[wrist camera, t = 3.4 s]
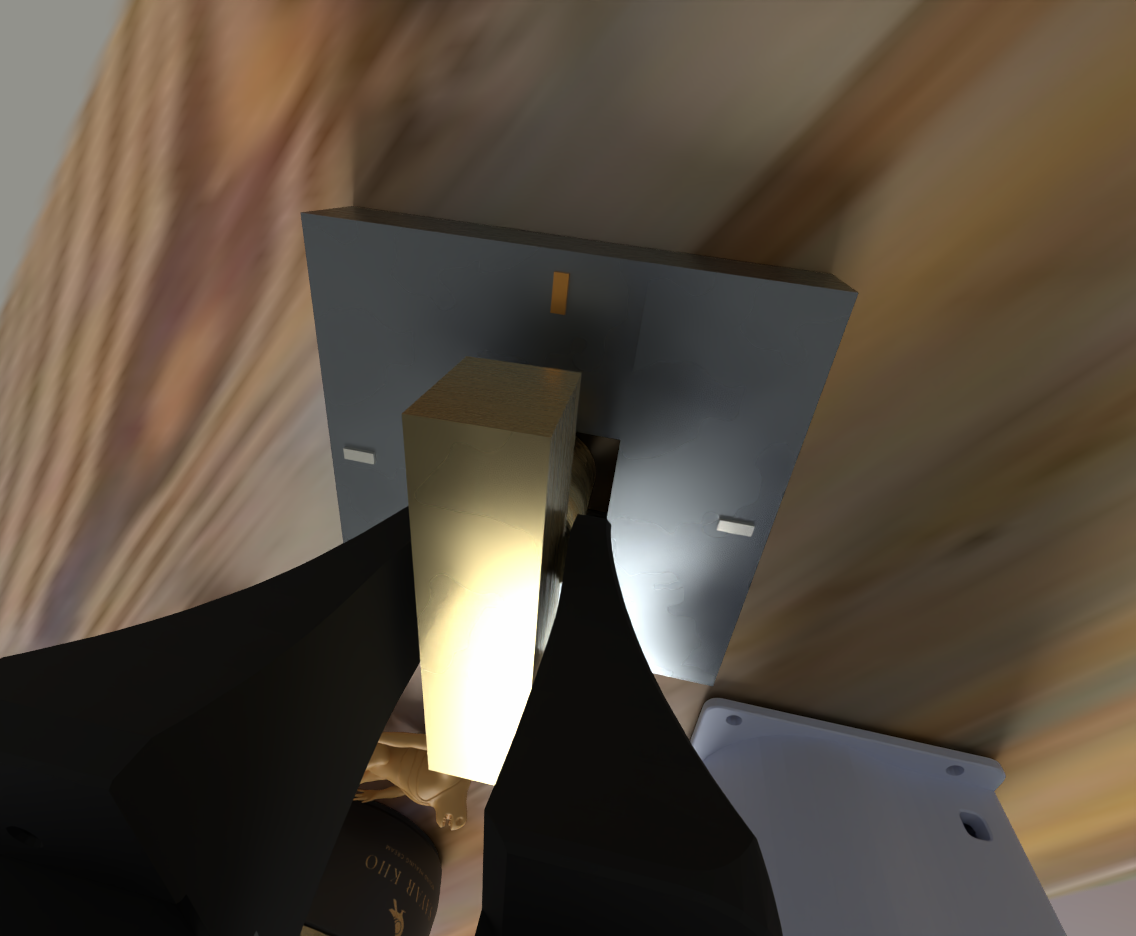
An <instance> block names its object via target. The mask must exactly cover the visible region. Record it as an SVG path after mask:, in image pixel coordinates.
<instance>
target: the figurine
mask: <svg viewBox="0 0 1136 936" xmlns="http://www.w3.org/2000/svg"><path fill="white" fill-rule="evenodd" d="M385 779H387V780H389V781H391V782H392V783H393V784H395V785H396V786H392V787H389V788H386V789H383V790H361V789H358V790H357V791H360V792H363V793H359V794H355V796H356V797H358V798H354V799H353V800H364V801H362V803H364V802H369V801H372V800H374V799H381V798H395V797H400V796H403V795H407V796H408V797H409V798H410V799H411V800H413V801H414V802H415V803H417V804H421V805H425V806H432V807H434V808H435V811H436V822H437V823H438V825H439V826H440V827H442V826H445V823H446V820H445V819H449V820H450V821H449V823H448V825H449V826H450V829H451V830H456V829H459V828H461V827H462V826H463V825H464V824H465V823H466V820H467V806H466V798H467V791H468V789H469V786H470V783H471V780H470V779H466V778H461V777H457V776H453V775H449V774H445V773H440V772H436V771H432V770H429V767H428V754H427V741H426V734H416V733H407V732H382V734H381V737H380V739H379V741H378V743H377V746H376V748H375V750H374V752H373V755H372V757H371V759H370V761H369V764H368V766H367V768H366V770H365V773H364V775H363V778H362V780H361V782H360V784H362V783H364V782H371V781H376V780H385Z"/></svg>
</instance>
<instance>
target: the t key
mask: <svg viewBox="0 0 1136 936" xmlns="http://www.w3.org/2000/svg"><path fill="white" fill-rule="evenodd" d="M581 376H582V373H581V372H574V371H567V370H560V369H553V368H546V367H539V366H532V365H525V364H519V363H512V362H505V361H498V360H491V359H484V358H477V357H470V356H466V357H465V358H464V359H463V360H462V361H460V362H459V363H458V364H457V365H456V366H455V367H454V368H453V369H451V370H450V371H449V372H448V373H447V374H446V375H445V376H444V377H442V378H441V379H440V380H439V381H438V382H437V383H436V384H434V385H433V386H432V387H431V388H430V389H429V390H428V391H427V392H425V393H424V394H423V395H422V396H421V397H420V398H419V399H418V400H416V401H415V402H414V403H413V404H412V405H411V406H410V407H409V408H407V409H406V410H405V411H404V412H403V413H402V426H403V439H404V452H405V465H406V478H407V491H408V505H409V518H410V531H411V544H412V557H413V570H414V583H415V596H416V609H417V623H418V636H419V649H420V662H421V675H422V688H423V701H424V714H425V727H426V741H427V754H428V767H429V770H432V771H436V772H440V773H445V774H449V775H453V776H457V777H461V778H466V779H470V780H474V781H478V782H483V783H487V784H491V785H495V783H496V780H497V778H498V775H499V773H500V770H501V768H502V765H503V763H504V760H505V758H506V755H507V753H508V750H509V748H510V745H511V742H512V740H513V737H514V735H515V732H516V729H517V727H518V724H519V721H520V719H521V716H522V713H523V710H524V708H525V705H526V702H527V699H528V697H529V694H530V691H531V689H532V686H533V683H534V680H535V677H536V674H537V671H538V668H539V665H540V662H541V659H542V656H543V653H544V650H545V647H546V644H547V641H548V638H549V635H550V632H551V629H552V626H553V623H554V620H555V616H556V612H557V608H558V600H559V591H560V584H561V583H562V579H563V573H564V567H565V560H566V554H567V548H568V541H569V535H570V531H571V528H572V526H573V523H574V521H575V518H576V516H577V514H581V515H586V511H587V507H588V504H589V500H590V496H591V493H592V489H593V485H594V482H595V477H596V467H595V462H594V459H593V456H592V454H591V452H590V451H589V449H588V448H587V446H586V445H585V444H584V443H583V442H582V441H581V440H580V439H579V438H577V437H576V436H575V435H576V425H577V415H578V405H579V396H580V386H581Z"/></svg>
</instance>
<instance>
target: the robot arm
mask: <svg viewBox="0 0 1136 936" xmlns="http://www.w3.org/2000/svg"><path fill="white" fill-rule="evenodd" d="M611 526H612V525H611V523H610V522H609V521H608V520H607V519H603V518H598V517H592V516H587V515H581V514H577V516H576V518H575V521H574V523H573V526H572V528H571V531H570V535H569V541H568V548H567V554H566V560H565V567H564V573H563V579H562V586H561V592H560V599H559V603H558V608H557V612H556V616H555V620H554V623H553V626H552V629H551V632H550V635H549V638H548V641H547V644H546V647H545V650H544V653H543V656H542V659H541V662H540V665H539V668H538V671H537V674H536V677H535V680H534V683H533V686H532V689H531V691H530V694H529V697H528V699H527V702H526V705H525V708H524V710H523V713H522V716H521V719H520V721H519V724H518V727H517V729H516V732H515V735H514V737H513V740H512V742H511V745H510V748H509V750H508V753H507V755H506V758H505V760H504V763H503V765H502V768H501V770H500V773H499V775H498V778H497V780H496V783H495V785H494V788H493V790H492V793H491V795H490V798H489V800H488V802H487V805H486V807H485V810H484V850H483V891H482V911H481V915H480V918H479V922H478V926H477V930H476V933H475V936H1067V935H1066V933H1065V931H1064V929H1063V927H1062V925H1061V923H1060V921H1059V919H1058V917H1057V915H1056V913H1055V911H1054V910H1053V907H1052V906H1051V903H1050V901H1049V899H1048V897H1047V895H1046V893H1045V891H1044V889H1043V887H1042V885H1041V883H1040V881H1039V879H1038V877H1037V876H1036V874H1035V872H1034V870H1033V868H1032V866H1031V864H1030V862H1029V860H1028V858H1027V856H1026V854H1025V852H1024V850H1023V848H1022V846H1021V844H1020V842H1019V840H1018V838H1017V836H1016V834H1015V832H1014V830H1013V828H1012V826H1011V824H1010V822H1009V820H1008V818H1007V816H1006V814H1005V812H1004V810H1003V808H1002V806H1001V804H1000V802H999V800H998V798H997V796H996V794H995V792H994V791H995V790H996V789H997V788H998V787H999V786H1000V784H1001V783H1002V782H1003V781H1004V779H1005V777H1006V775H1005V772H1004V770H1003V768H1002V767H1001V765H1000V763H999V762H997V761H996V760H993V759H991V758H987V757H983V756H978V755H974V754H969V753H965V752H960V751H956V750H951V749H947V748H942V747H938V746H933V745H929V744H924V743H920V742H916V741H911V740H907V739H902V738H898V737H893V736H889V735H884V734H880V733H875V732H871V731H866V730H862V729H857V728H853V727H848V726H844V725H839V724H835V723H831V722H826V721H822V720H817V719H813V718H808V717H804V716H799V715H795V714H790V713H786V712H781V711H777V710H772V709H768V708H763V707H759V706H754V705H750V704H746V703H741V702H737V701H732V700H728V699H723V698H711V699H709V700H707V701H706V702H705V703H704V705H703V708H702V710H701V713H700V716H699V718H698V721H697V724H696V727H695V729H694V732H693V735H692V738H691V740H690V741H689V739H688V737H687V736H686V734H685V732H684V730H683V729H682V727H681V725H680V723H679V722H678V720H677V718H676V716H675V715H674V713H673V711H672V709H671V708H670V706H669V704H668V702H667V701H666V699H665V697H664V695H663V693H662V691H661V689H660V687H659V685H658V683H657V681H656V679H655V677H654V675H653V673H652V671H651V669H650V666H649V664H648V662H647V660H646V658H645V655H644V653H643V651H642V648H641V646H640V644H639V641H638V639H637V636H636V633H635V631H634V628H633V625H632V623H631V620H630V617H629V614H628V611H627V608H626V605H625V602H624V598H623V595H622V591H621V588H620V584H619V580H618V576H617V572H616V568H615V563H614V557H613V551H612V543H611ZM419 663H420V649H419V636H418V623H417V609H416V596H415V583H414V570H413V557H412V544H411V531H410V518H409V505H408V506H407V507H405V508H403V509H402V510H400V511H399V512H397V513H395V514H394V515H392V516H390V517H389V518H387V519H385V520H384V521H382V522H380V523H378V524H377V525H375V526H373V527H372V528H370V529H368V530H367V531H365V532H363V533H361V534H360V535H358V536H356V537H354V538H352V539H350V540H348V541H347V542H345V543H343V544H341V545H339V546H337V547H335V548H333V549H332V550H330V551H328V552H326V553H324V554H322V555H320V556H318V557H316V558H314V559H312V560H310V561H308V562H306V563H304V564H302V565H300V566H298V567H296V568H293V569H291V570H289V571H287V572H285V573H282V574H280V575H278V576H275V577H273V578H271V579H268V580H266V581H264V582H261V583H259V584H256V585H254V586H251V587H249V588H246V589H244V590H241V591H238V592H235V593H233V594H230V595H227V596H224V597H221V598H219V599H216V600H213V601H210V602H208V603H205V604H202V605H199V606H197V607H194V608H191V609H188V610H185V611H182V612H179V613H175V614H172V615H169V616H166V617H162V618H159V619H156V620H153V621H149V622H146V623H142V624H139V625H135V626H132V627H128V628H124V629H121V630H117V631H114V632H110V633H106V634H102V635H98V636H95V637H90V638H86V639H82V640H77V641H73V642H69V643H65V644H60V645H56V646H52V647H47V648H43V649H39V650H35V651H30V652H26V653H22V654H17V655H12V656H7V657H3V658H1V659H0V936H300V933H301V931H302V928H303V925H304V923H305V920H306V917H307V915H308V912H309V909H310V907H311V904H312V901H313V899H314V896H315V893H316V891H317V888H318V885H319V883H320V880H321V878H322V875H323V873H324V870H325V868H326V865H327V863H328V860H329V858H330V855H331V853H332V850H333V848H334V845H335V843H336V840H337V838H338V835H339V833H340V830H341V828H342V825H343V823H344V820H345V818H346V816H347V813H348V811H349V808H350V806H351V804H352V801H353V799H354V797H355V794H356V792H357V789H358V787H359V785H360V782H361V780H362V778H363V775H364V773H365V770H366V768H367V766H368V764H369V761H370V759H371V757H372V755H373V752H374V750H375V748H376V746H377V743H378V741H379V739H380V737H381V734H382V732H383V730H384V728H385V725H386V723H387V721H388V719H389V717H390V715H391V713H392V711H393V709H394V707H395V705H396V704H397V702H398V700H399V698H400V696H401V694H402V693H403V691H404V689H405V687H406V686H407V684H408V682H409V680H410V679H411V677H412V675H413V673H414V672H415V670H416V668H417V666H418V664H419Z"/></svg>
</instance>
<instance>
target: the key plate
mask: <svg viewBox="0 0 1136 936" xmlns="http://www.w3.org/2000/svg"><path fill="white" fill-rule="evenodd" d="M301 220H302V227H303V235H304V243H305V250H306V258H307V266H308V273H309V281H310V289H311V297H312V304H313V312H314V320H315V327H316V335H317V343H318V350H319V358H320V366H321V374H322V381H323V389H324V397H325V404H326V412H327V420H328V428H329V435H330V443H331V451H332V458H333V466H334V474H335V481H336V489H337V497H338V505H339V512H340V520H341V528H342V535H343V543H345V542H347V541H348V540H350V539H352V538H354V537H356V536H358V535H360V534H361V533H363V532H365V531H367V530H368V529H370V528H372V527H373V526H375V525H377V524H378V523H380V522H382V521H384V520H385V519H387V518H389V517H390V516H392V515H394V514H395V513H397V512H399V511H400V510H402V509H403V508H405V507H407V506H408V491H407V478H406V465H405V452H404V439H403V426H402V413H403V412H404V411H405V410H406V409H407V408H409V407H410V406H411V405H412V404H413V403H414V402H415V401H416V400H418V399H419V398H420V397H421V396H422V395H423V394H424V393H425V392H427V391H428V390H429V389H430V388H431V387H432V386H433V385H434V384H436V383H437V382H438V381H439V380H440V379H441V378H442V377H444V376H445V375H446V374H447V373H448V372H449V371H450V370H451V369H453V368H454V367H455V366H456V365H457V364H458V363H459V362H460V361H462V360H463V359H464V358H465V357H466V356H470V357H477V358H484V359H491V360H498V361H505V362H512V363H519V364H525V365H532V366H539V367H546V368H553V369H560V370H567V371H574V372H581V373H582V376H581V386H580V396H579V405H578V415H577V425H576V432H580V433H585V434H591V435H596V436H602V437H608V438H613V439H619V440H621V441H620V447H619V453H618V458H617V464H616V469H615V475H614V481H613V486H612V492H611V498H610V503H609V509H608V513H603V512H598V511H593V510H587V511H586V515H587V516H592V517H598V518H603V519H607V520H608V521H609V522H610V523H611V525H612V526H611V543H612V551H613V557H614V563H615V568H616V572H617V576H618V580H619V584H620V588H621V591H622V595H623V598H624V602H625V605H626V608H627V611H628V614H629V617H630V620H631V623H632V625H633V628H634V631H635V633H636V636H637V639H638V641H639V644H640V646H641V648H642V651H643V653H644V655H645V658H646V660H647V662H648V664H649V666H650V669H651V671H652V673H655V674H660V675H664V676H669V677H673V678H678V679H682V680H687V681H691V682H696V683H700V684H705V685H709V686H713V684H714V682H715V679H716V676H717V674H718V671H719V668H720V666H721V663H722V660H723V657H724V655H725V652H726V649H727V647H728V644H729V641H730V639H731V636H732V633H733V630H734V628H735V625H736V622H737V620H738V617H739V614H740V611H741V609H742V606H743V603H744V601H745V598H746V595H747V593H748V590H749V587H750V584H751V582H752V579H753V576H754V574H755V571H756V568H757V566H758V563H759V560H760V557H761V555H762V552H763V549H764V547H765V544H766V541H767V539H768V536H769V533H770V530H771V528H772V525H773V522H774V520H775V517H776V514H777V512H778V509H779V506H780V503H781V501H782V498H783V495H784V493H785V490H786V487H787V485H788V482H789V479H790V476H791V474H792V471H793V468H794V466H795V463H796V460H797V458H798V455H799V452H800V449H801V447H802V444H803V441H804V439H805V436H806V433H807V431H808V428H809V425H810V422H811V420H812V417H813V414H814V412H815V409H816V406H817V404H818V401H819V398H820V395H821V393H822V390H823V387H824V385H825V382H826V379H827V377H828V374H829V371H830V368H831V366H832V363H833V360H834V358H835V355H836V352H837V349H838V347H839V344H840V341H841V339H842V336H843V333H844V331H845V328H846V325H847V322H848V320H849V317H850V314H851V312H852V309H853V306H854V304H855V301H856V298H857V295H858V292H857V291H855V290H854V289H852V288H851V287H850V286H848V285H847V284H845V283H844V282H843V281H841V280H840V279H838V278H837V277H836V276H834V275H833V274H828V273H821V272H814V271H807V270H800V269H793V268H786V267H779V266H772V265H765V264H757V263H750V262H743V261H736V260H729V259H722V258H715V257H708V256H701V255H694V254H687V253H680V252H673V251H665V250H658V249H651V248H644V247H637V246H630V245H623V244H616V243H609V242H602V241H595V240H588V239H580V238H573V237H566V236H559V235H552V234H545V233H538V232H531V231H524V230H517V229H510V228H503V227H495V226H488V225H481V224H474V223H467V222H460V221H453V220H446V219H439V218H432V217H425V216H418V215H411V214H403V213H396V212H389V211H382V210H375V209H368V208H361V207H354V206H350V207H342V208H333V209H325V210H317V211H309V212H301ZM561 586H562V583H561V584H560V591H559V599H560V592H561ZM558 603H559V600H558Z"/></svg>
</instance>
